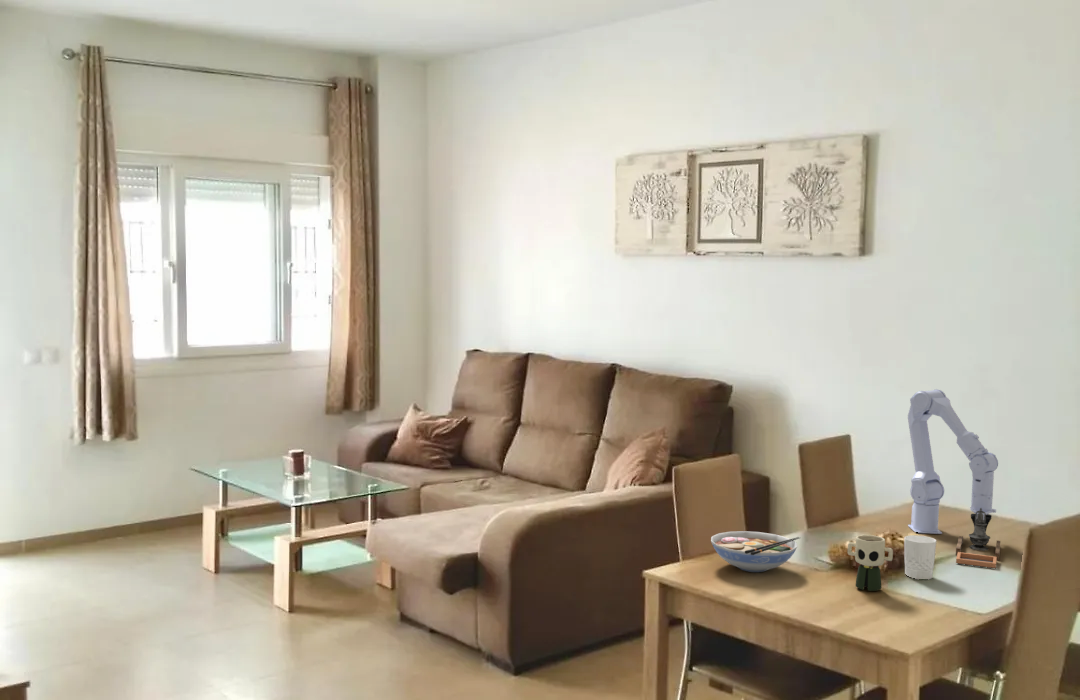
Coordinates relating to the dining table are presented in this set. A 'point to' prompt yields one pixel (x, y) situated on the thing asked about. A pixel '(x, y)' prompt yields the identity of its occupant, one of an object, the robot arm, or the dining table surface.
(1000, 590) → the dining table surface
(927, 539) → the white cup
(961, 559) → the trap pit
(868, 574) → the character mug
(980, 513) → the dark grey figurine
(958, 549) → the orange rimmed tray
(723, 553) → the ramen bowl
